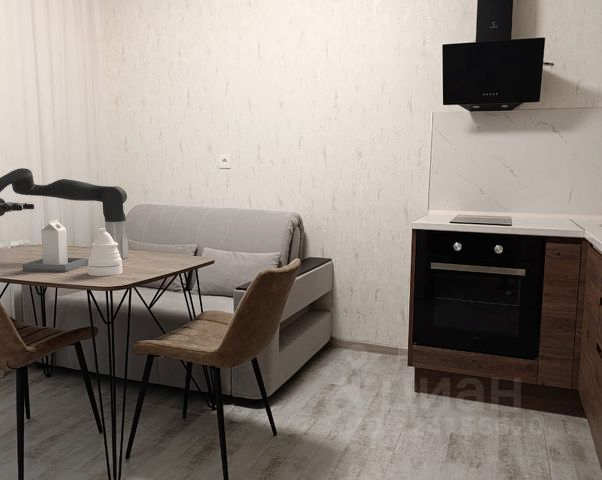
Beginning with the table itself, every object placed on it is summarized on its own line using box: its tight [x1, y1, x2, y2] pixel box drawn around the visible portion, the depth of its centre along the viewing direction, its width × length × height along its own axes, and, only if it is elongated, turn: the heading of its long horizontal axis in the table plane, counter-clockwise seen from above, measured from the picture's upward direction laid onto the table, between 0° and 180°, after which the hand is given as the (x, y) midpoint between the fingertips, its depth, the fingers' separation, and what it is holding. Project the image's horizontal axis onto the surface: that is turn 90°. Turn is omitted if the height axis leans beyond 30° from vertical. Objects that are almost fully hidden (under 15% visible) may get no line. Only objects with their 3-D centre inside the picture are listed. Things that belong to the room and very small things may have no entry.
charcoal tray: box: [22, 257, 88, 273], centre depth 230 cm, size 18×18×3 cm
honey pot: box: [87, 227, 123, 277], centre depth 219 cm, size 13×13×18 cm
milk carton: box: [40, 219, 69, 264], centre depth 229 cm, size 7×7×19 cm
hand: (28, 207), depth 228 cm, fingers open, 8 cm apart
